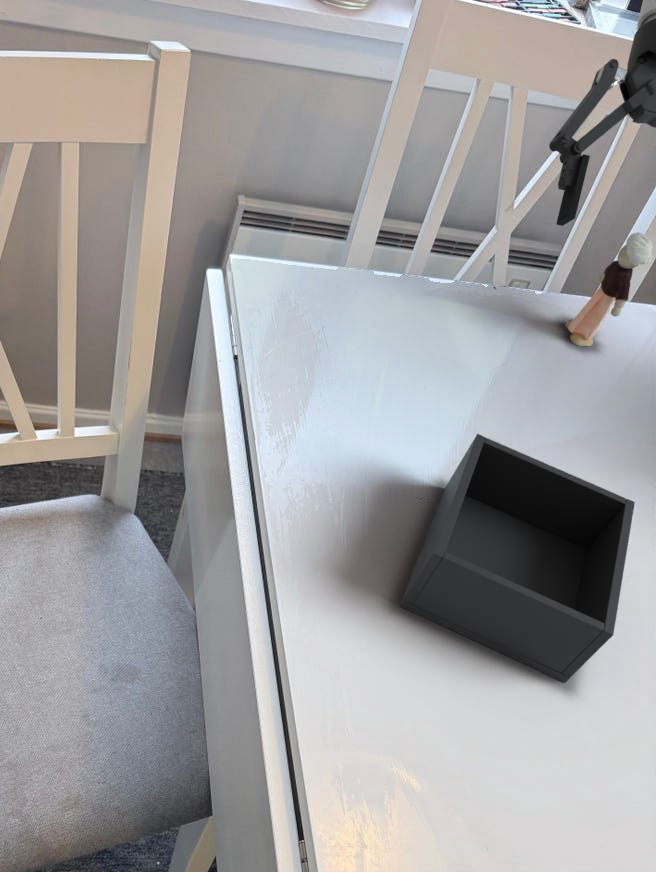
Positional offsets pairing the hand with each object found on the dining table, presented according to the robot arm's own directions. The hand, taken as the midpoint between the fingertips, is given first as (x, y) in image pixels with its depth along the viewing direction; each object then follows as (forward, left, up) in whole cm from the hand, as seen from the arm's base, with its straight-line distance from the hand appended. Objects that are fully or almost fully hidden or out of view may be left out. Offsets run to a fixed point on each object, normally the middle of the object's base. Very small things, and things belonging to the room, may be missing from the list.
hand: (622, 235), depth 96 cm
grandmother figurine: (-2, +4, -11) cm, 11 cm away
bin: (-1, +48, -10) cm, 49 cm away
